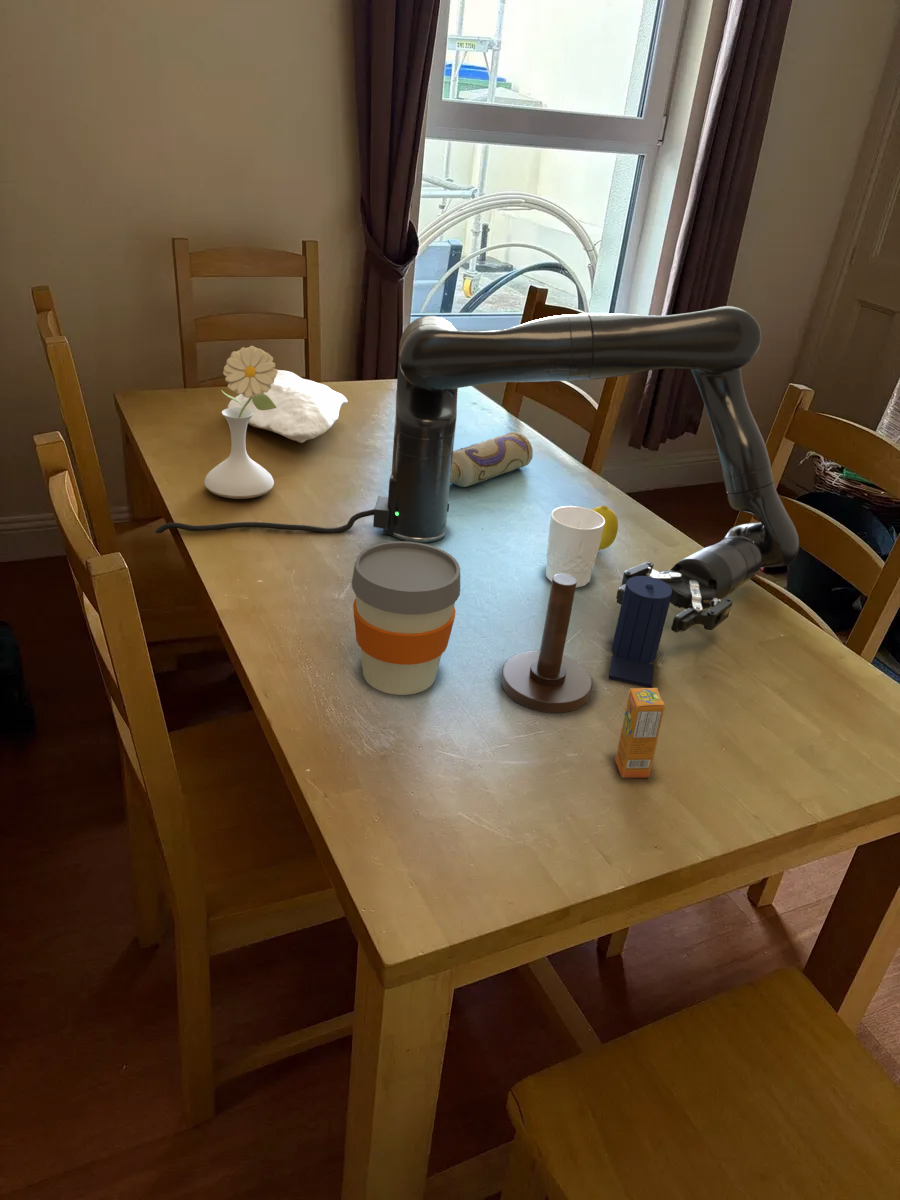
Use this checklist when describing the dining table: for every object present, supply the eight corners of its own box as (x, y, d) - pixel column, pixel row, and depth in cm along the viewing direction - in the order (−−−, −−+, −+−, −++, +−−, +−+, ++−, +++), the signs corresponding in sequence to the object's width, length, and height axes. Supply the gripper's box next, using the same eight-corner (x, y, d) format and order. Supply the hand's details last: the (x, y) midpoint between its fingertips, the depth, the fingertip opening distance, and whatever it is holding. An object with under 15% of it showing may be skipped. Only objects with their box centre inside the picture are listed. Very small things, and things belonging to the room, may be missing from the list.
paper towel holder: (500, 707, 105) (516, 597, 97) (501, 655, 114) (517, 552, 107) (593, 718, 105) (616, 609, 97) (587, 665, 114) (608, 562, 107)
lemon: (611, 561, 140) (621, 515, 136) (577, 555, 141) (585, 509, 137) (613, 546, 145) (622, 501, 141) (579, 541, 146) (587, 496, 142)
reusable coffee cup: (413, 718, 101) (423, 605, 94) (326, 677, 107) (329, 567, 99) (469, 669, 111) (482, 563, 103) (387, 633, 116) (394, 530, 109)
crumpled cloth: (322, 389, 197) (316, 349, 192) (384, 444, 171) (380, 399, 165) (218, 412, 189) (209, 370, 184) (266, 473, 162) (258, 426, 157)
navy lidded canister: (613, 636, 121) (628, 568, 116) (656, 645, 120) (673, 577, 115) (606, 678, 112) (622, 607, 107) (653, 688, 111) (671, 616, 106)
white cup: (597, 572, 137) (609, 513, 132) (587, 595, 130) (599, 533, 125) (548, 560, 139) (558, 501, 134) (535, 582, 132) (545, 521, 127)
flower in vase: (190, 495, 147) (182, 343, 135) (230, 472, 156) (225, 328, 144) (258, 513, 143) (256, 359, 131) (295, 490, 153) (296, 343, 140)
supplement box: (611, 758, 99) (628, 685, 94) (641, 759, 99) (660, 686, 94) (618, 779, 96) (637, 704, 91) (649, 779, 96) (669, 705, 91)
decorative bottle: (502, 458, 175) (506, 426, 171) (531, 471, 170) (536, 438, 167) (407, 488, 158) (410, 453, 154) (438, 503, 153) (441, 467, 150)
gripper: (671, 533, 128) (607, 564, 118) (762, 571, 120) (701, 609, 110) (660, 578, 132) (597, 613, 122) (747, 619, 124) (687, 659, 113)
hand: (646, 611), depth 116 cm, fingers open, 8 cm apart
